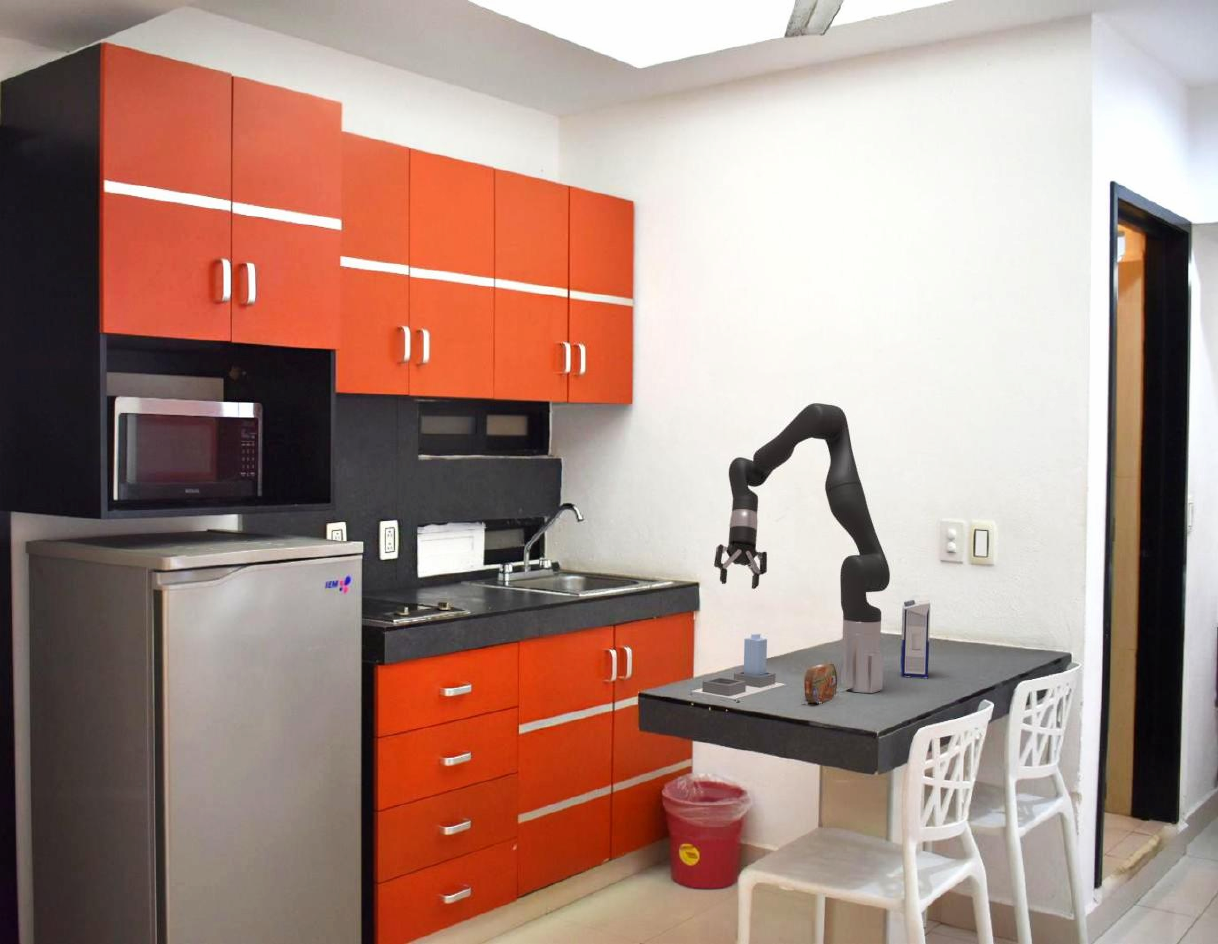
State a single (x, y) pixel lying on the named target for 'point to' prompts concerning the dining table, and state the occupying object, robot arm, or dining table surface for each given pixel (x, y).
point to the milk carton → (915, 638)
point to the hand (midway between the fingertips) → (739, 585)
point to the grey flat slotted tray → (738, 685)
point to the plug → (755, 655)
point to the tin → (820, 683)
